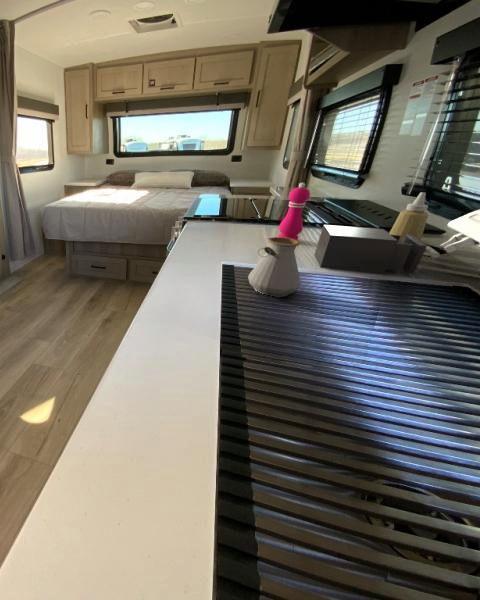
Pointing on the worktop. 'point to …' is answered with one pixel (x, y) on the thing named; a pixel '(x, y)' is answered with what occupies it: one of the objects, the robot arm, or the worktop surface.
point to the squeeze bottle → (411, 219)
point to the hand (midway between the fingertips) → (443, 249)
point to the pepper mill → (294, 213)
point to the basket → (409, 254)
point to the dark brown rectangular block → (355, 249)
